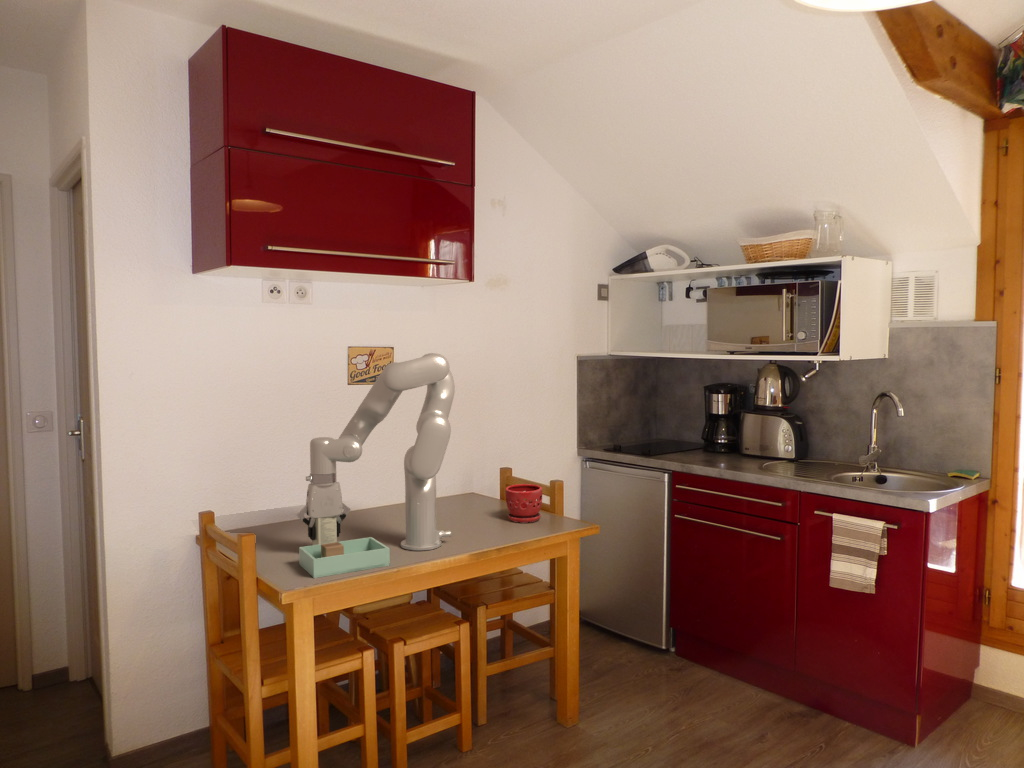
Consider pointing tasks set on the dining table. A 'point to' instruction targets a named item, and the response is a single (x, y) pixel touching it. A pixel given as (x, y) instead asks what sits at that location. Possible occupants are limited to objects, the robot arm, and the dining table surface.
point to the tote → (345, 557)
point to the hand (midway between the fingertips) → (324, 537)
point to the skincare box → (325, 530)
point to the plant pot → (524, 502)
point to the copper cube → (331, 549)
